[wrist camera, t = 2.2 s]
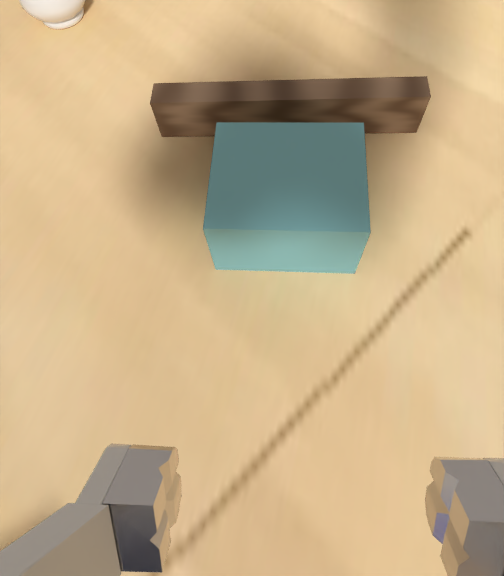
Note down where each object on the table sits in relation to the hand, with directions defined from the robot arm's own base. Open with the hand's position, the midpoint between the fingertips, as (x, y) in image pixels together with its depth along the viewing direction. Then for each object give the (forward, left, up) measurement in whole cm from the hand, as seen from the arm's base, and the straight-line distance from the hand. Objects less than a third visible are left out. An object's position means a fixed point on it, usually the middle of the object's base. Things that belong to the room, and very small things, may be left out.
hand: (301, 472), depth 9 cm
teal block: (0, -24, -28) cm, 37 cm away
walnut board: (0, -38, -27) cm, 47 cm away
